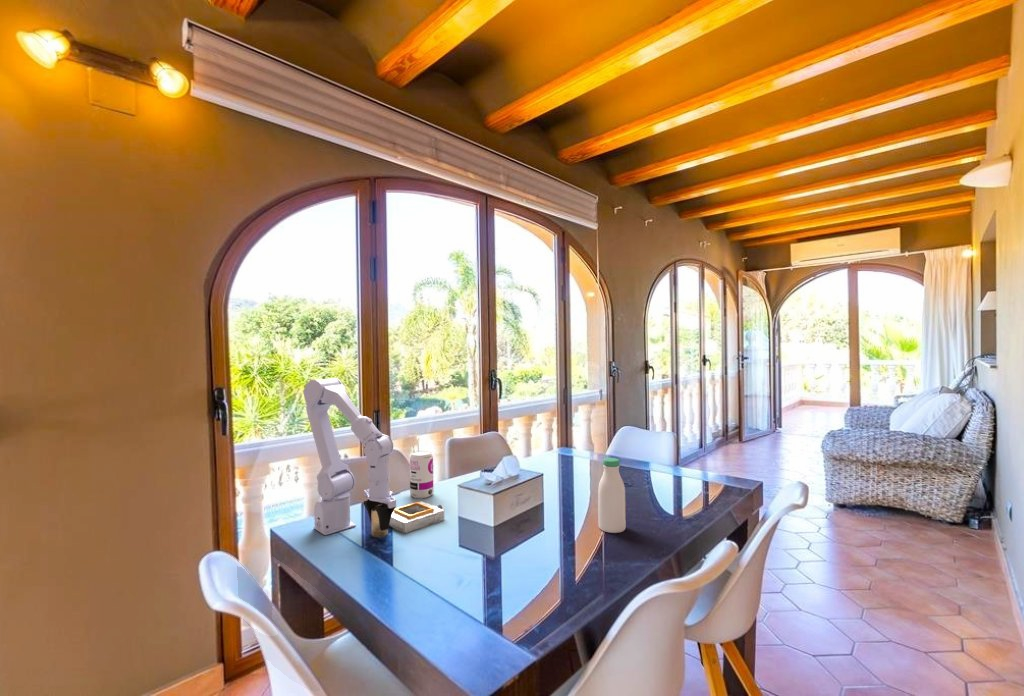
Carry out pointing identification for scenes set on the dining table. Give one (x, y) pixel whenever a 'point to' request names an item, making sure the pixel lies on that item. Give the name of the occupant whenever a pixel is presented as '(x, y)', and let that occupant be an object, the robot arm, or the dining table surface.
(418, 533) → the dining table surface
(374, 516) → the spout can
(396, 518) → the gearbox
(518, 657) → the dining table surface
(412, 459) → the supplement can
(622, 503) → the milk bottle
